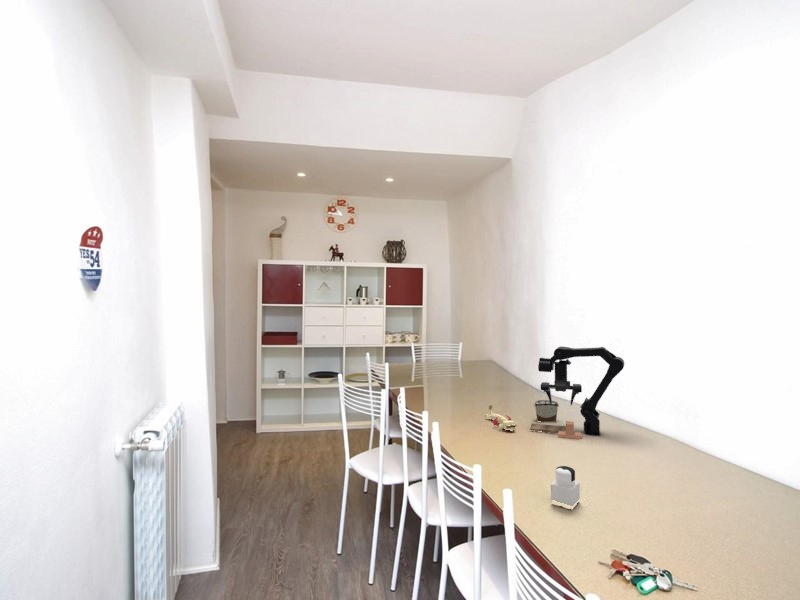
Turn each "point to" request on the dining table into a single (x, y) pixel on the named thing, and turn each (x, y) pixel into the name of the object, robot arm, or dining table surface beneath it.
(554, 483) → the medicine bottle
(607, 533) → the dining table surface
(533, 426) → the ticket board
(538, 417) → the food container
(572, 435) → the stub
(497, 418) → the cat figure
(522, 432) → the dining table surface
